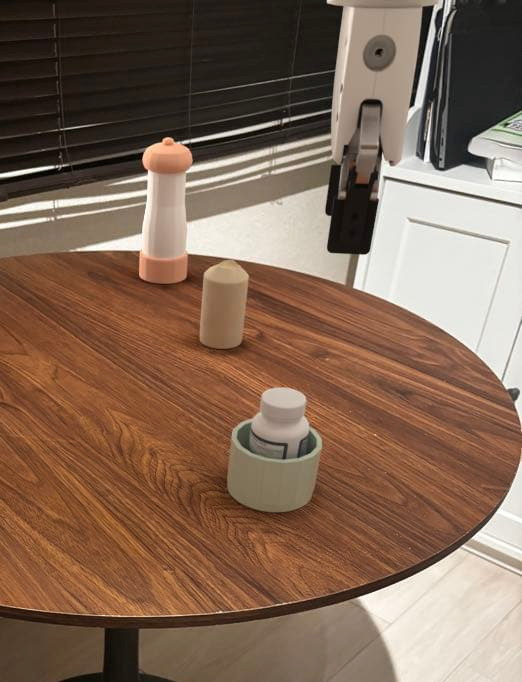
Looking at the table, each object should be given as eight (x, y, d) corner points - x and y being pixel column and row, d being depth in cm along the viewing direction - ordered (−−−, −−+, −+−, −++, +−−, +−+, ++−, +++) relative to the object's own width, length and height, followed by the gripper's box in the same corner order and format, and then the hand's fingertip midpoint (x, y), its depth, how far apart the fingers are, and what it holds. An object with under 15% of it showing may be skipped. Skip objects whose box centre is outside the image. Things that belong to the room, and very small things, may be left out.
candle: (209, 328, 108) (215, 253, 101) (248, 337, 106) (256, 260, 99) (192, 344, 104) (197, 266, 98) (232, 352, 102) (240, 274, 96)
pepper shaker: (143, 265, 127) (146, 131, 115) (189, 269, 126) (197, 133, 114) (135, 282, 121) (137, 142, 109) (183, 285, 120) (191, 145, 108)
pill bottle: (283, 461, 80) (295, 379, 75) (311, 489, 76) (326, 405, 71) (235, 471, 79) (244, 388, 73) (261, 500, 75) (272, 415, 69)
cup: (313, 469, 80) (322, 421, 77) (312, 517, 74) (322, 466, 71) (230, 460, 82) (235, 412, 78) (222, 506, 75) (228, 456, 72)
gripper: (461, -13, 48) (402, 272, 59) (428, -30, 62) (385, 205, 72) (332, -13, 49) (297, 267, 60) (327, -29, 63) (299, 201, 73)
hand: (345, 233), depth 66 cm, fingers open, 9 cm apart
